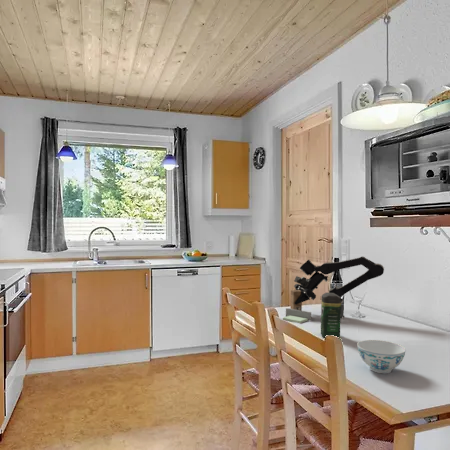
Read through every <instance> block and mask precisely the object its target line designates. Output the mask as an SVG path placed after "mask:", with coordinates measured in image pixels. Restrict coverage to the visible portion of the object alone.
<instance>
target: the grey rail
mask: <svg viewBox="0 0 450 450" xmlns="http://www.w3.org/2000/svg"><path fill="white" fill-rule="evenodd" d="M290 315H291V316H296V317H302V318H307V319H308V321H310V322H311V321H312V312H311V311H305V310H302V311H301V310H295V309H290V308H288V307H287V308H285V317H287V316H290ZM308 321H307V322H308Z"/></svg>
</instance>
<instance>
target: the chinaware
mask: <svg viewBox="0 0 450 450" xmlns="http://www.w3.org/2000/svg"><path fill="white" fill-rule="evenodd" d="M356 346H357V351H358V353H359V357H360V358H361V359H362V361H363V362H364V363H365V364H366V365H367V366H369V370H371V371H372V372H374V373H379V374H390V373H392V370H394V369H395V368H397V367H399V365H400V364H401V363H402V362H403V360H404V358H405V355H406V351H407V350H406V348H405V346H402V345H400V344H398V343H396V342H391V341H386V340H381V339H380V340H379V339H367V340H366V339H365V340H361V341H358V342H357V343H356Z"/></svg>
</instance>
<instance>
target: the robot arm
mask: <svg viewBox="0 0 450 450" xmlns="http://www.w3.org/2000/svg"><path fill="white" fill-rule="evenodd" d="M358 266H363V267H364V268H366V269H367V271H365V272H364V273H362V274H361V275H359V276H358V277H356V278H353V280H351V281H349V282H348V283H345V284H344V285H342V286H339V287H338V285H336V286H334V287H333V288H331V289H329V290H328V293H335V294H336V295H338V296H339V297H340V298H341V319H343V318H345V317H346V316H345V315H344V307H345V305H343V303H344V299H343V298H342V297H343V296H344V295H346V294H347V293H348V292H350V291H353V290H354V289H355V288H357V287H359V286H361V285H362V284H364V283H366V282H367V281H370V280H373V279H375V278H378V277H381V276H382V275H384V272H385V267H384V266H383V264H381V263H376V262H374V261H372V260H370V259H368V258H366V256H360V257H356V258H355V257H354V258H352V259H346V260H343V261H336V262H335V261H334V262H330V261H329V262H324V263H323V264H320V265H315V264H314V263H313V262H312V261H311V260H310V259H307V260H306V261H305V262H304V263H302V265H301V266H300V267H299V270H301V271H302V272H303V273H304V274H305V275H306V276H310V277H309V278H307V277H304V276H302V277H300V276H298V275H296V276H295V278H294V280H293V281H294V282H295V284H294V285H293V287H294V288H295V289H294V290H300V291H301V294H300V296H299V297H298V299H297V300H296V301H295V304H299V303H301V302H302V303H304V302H306V301H310V300H312V301H314V300H315V299H316V298H317V295H316V293H314V290H317V289H318V287H319V285H320V284H321V283H322V282H323V281H324V282H326V283H327V282H328V276H327V275H329V274H332V273H334V272H337V271H339V270H344V269H347V268H352V267H358ZM342 317H343V318H342Z"/></svg>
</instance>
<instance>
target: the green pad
mask: <svg viewBox="0 0 450 450" xmlns="http://www.w3.org/2000/svg"><path fill="white" fill-rule="evenodd" d="M282 320H283V321H287V322H293V323H297V324H301V323H302V324H303V323H305V322H308V319H307V318H302V317H296V316H291V315H290V316H284V317H282Z"/></svg>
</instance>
